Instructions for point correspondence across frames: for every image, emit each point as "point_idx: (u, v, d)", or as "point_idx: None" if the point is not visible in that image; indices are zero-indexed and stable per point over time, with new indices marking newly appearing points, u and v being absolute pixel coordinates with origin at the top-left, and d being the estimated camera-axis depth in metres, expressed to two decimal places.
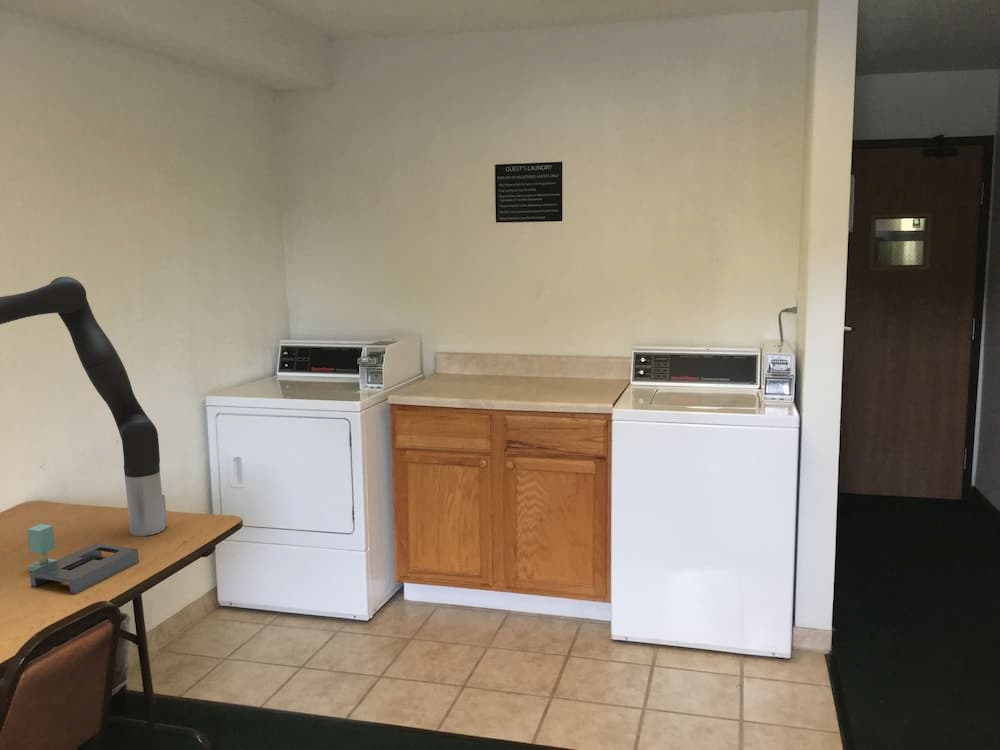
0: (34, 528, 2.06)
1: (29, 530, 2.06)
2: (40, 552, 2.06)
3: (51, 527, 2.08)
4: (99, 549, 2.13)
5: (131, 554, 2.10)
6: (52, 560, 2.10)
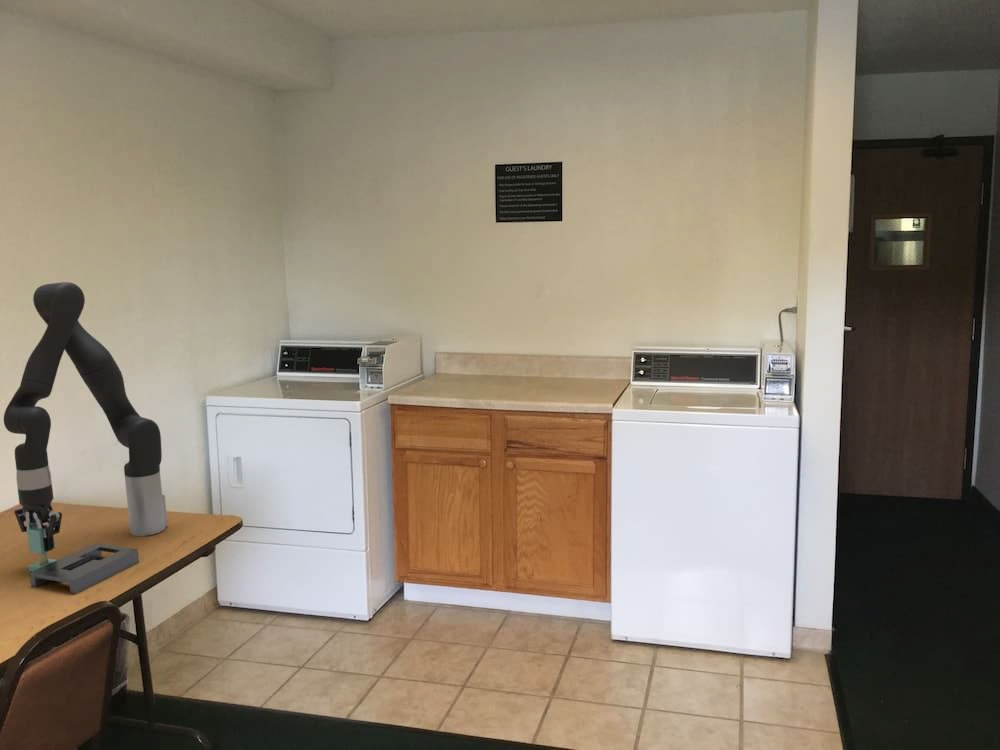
0: (34, 528, 2.06)
1: (29, 530, 2.06)
2: (39, 552, 2.06)
3: None
4: (99, 549, 2.13)
5: (131, 554, 2.10)
6: (52, 560, 2.10)
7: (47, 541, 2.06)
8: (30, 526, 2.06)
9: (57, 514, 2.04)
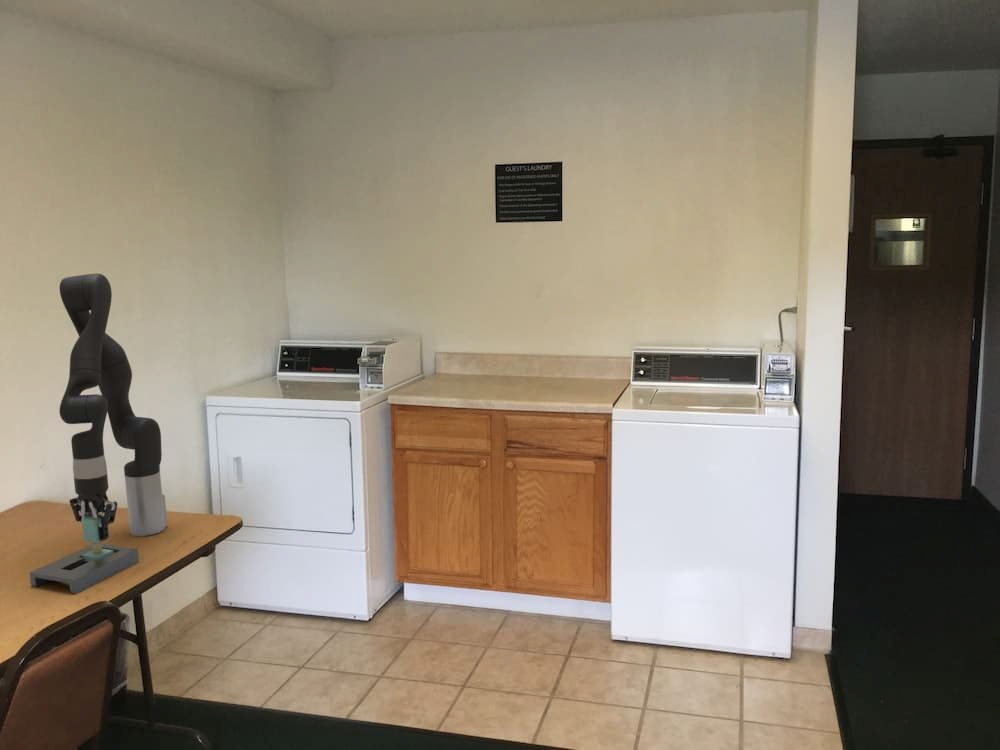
0: (89, 517, 2.06)
1: (84, 519, 2.06)
2: (94, 541, 2.06)
3: None
4: None
5: (131, 554, 2.10)
6: (106, 550, 2.10)
7: (102, 530, 2.06)
8: (85, 515, 2.06)
9: (113, 503, 2.04)
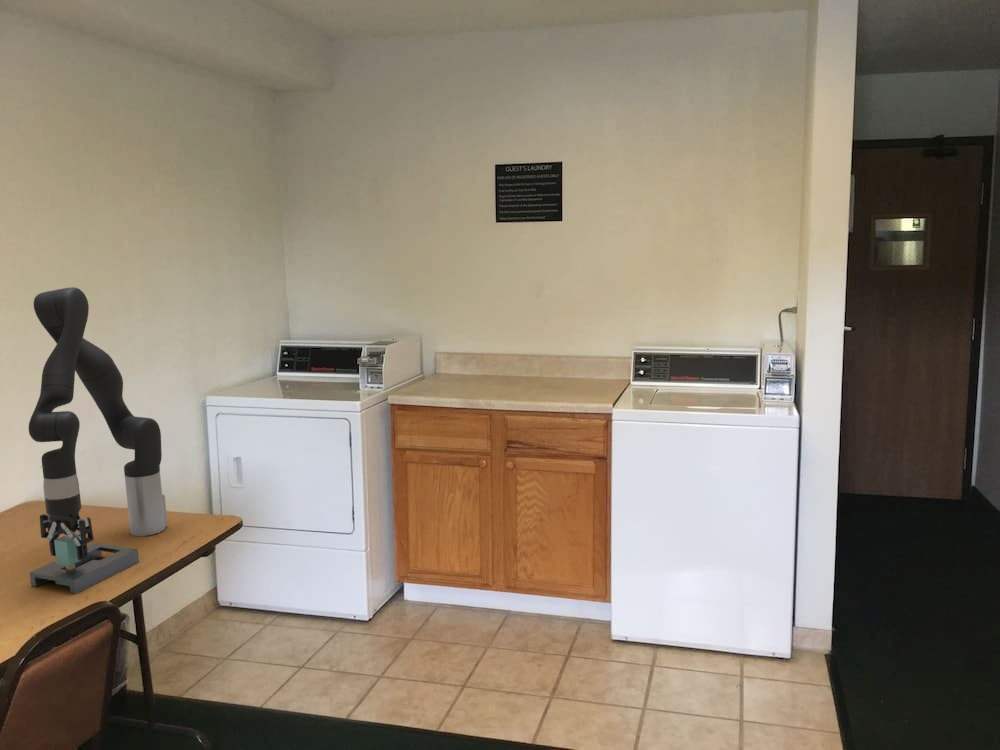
0: (61, 539, 1.99)
1: (56, 541, 1.98)
2: (67, 564, 1.98)
3: (79, 538, 2.00)
4: (99, 549, 2.13)
5: (131, 554, 2.10)
6: None
7: (81, 549, 1.97)
8: (53, 534, 1.99)
9: (85, 519, 1.96)
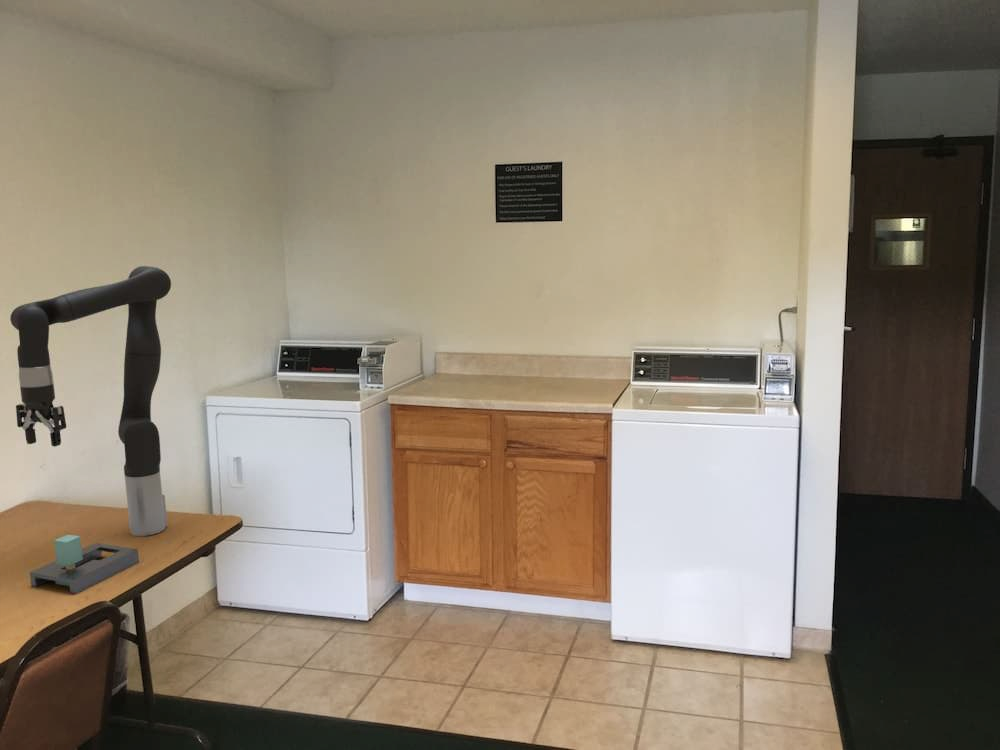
0: (61, 539, 1.99)
1: (56, 541, 1.98)
2: (67, 564, 1.98)
3: (79, 538, 2.00)
4: (99, 549, 2.13)
5: (131, 554, 2.10)
6: None
7: (54, 436, 2.10)
8: (28, 423, 2.12)
9: (58, 407, 2.09)
